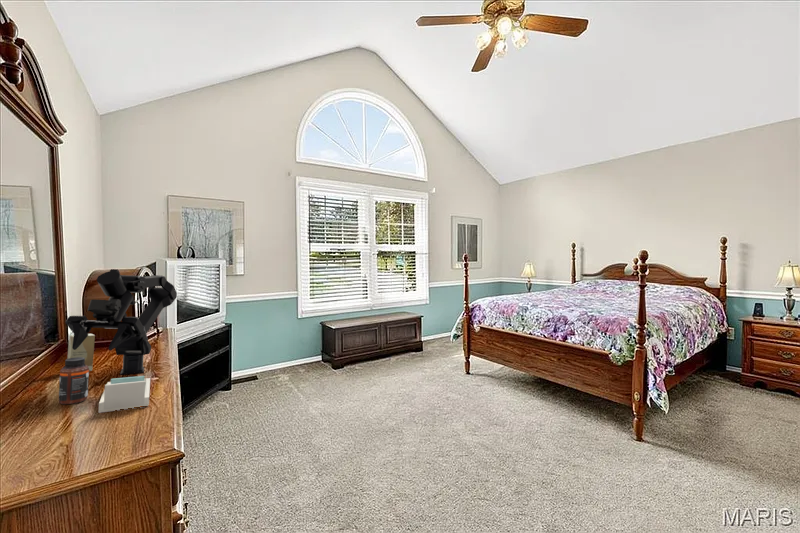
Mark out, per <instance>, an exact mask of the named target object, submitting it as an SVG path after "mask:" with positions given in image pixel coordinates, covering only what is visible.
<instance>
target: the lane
mask: <svg viewBox="0 0 800 533" xmlns="http://www.w3.org/2000/svg"><path fill="white" fill-rule="evenodd" d="M150 388H151V377H146V378H145V377H144V381H136V382H126V383H116V384H111V381H107V383H106V384H104V390H103V393H102V394H101V397H100V400H99V402H98V413H100V414H101V413H107V412H114V411H115V410H117V411H121V410H120V409H124V410H129V409H128V408H132V409H135V408H134V407H140V406H148V405H150V390H151V389H150ZM148 407H149V406H148ZM140 408H141V407H140Z"/></svg>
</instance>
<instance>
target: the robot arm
mask: <svg viewBox="0 0 800 533" xmlns="http://www.w3.org/2000/svg"><path fill="white" fill-rule="evenodd" d="M96 282H97V284H98V286H99V287H100V288H101V290H102V292H103V294H104V296H106V297H109V298H108V299H90V301H89V304H88V306H87V307H88V308H87V311H88V312H91V313H92V317H93V318H94V319H95V320H94V319H93V320H92V319H91V320H89V319H88V318H87V317H86V315H69V316H68V317H67V319H66V320H65V321H64V322H65V325H67V327H68V328H69V329H70V330H71V332H72V333H73V335H74V338H73V346H72V348H73V350H76V349H77V348H78V347H79V346H80V345H81V343H82V342H83V341H84V340H85V339H86V337H87V336H88V334H89V333H90V332H91V330H92V328H93V329H94V328H95V329H97V328H98V329H101V328H102V329H112V330H113V329H114V330H117V331H116V332H115V334H114V336H113V337H112V340H111V341H110V343H109V346H108V350H109V351H112V350H114V349H115V354H116V356H122V369H121V370H120V373H119V375H121V376H122V375H134V374H135V375H136V374H144V373H145V366H144V356H145V355H149V354H150V353H151V351H152V345H151V343H150V342H149V338H148V335H147V334H148V332H149V330H151V327H152V326H153V324H154V323H155V321H156V320H157V319H158V317H159V315H160V314H161V312H162V311H163V309H164V308H167V307H169V306H171V305H172V304H173V302H175V300H176V299H177V295H178V293H177V289H176V288H175V285H174V284H172V283H171V282H170V281H169V280H167V278H166V276H163V275H160V274H159V275H156V274H155V275H149V276H148V275H147V276H142V275H131V274H130V275H126V274H121V273H120V271H119V269H118V268H117V269H115V268H114V269H113V268H112V269H109V271H107V272H104V273H102V274H100V275H98V276H97V278H96ZM147 288H148V290H147V294H148V296H149V300H150V302H149V303H148V304H147V305H146V307H145V308H144V310H142V312H141V313H140V315H139V317H138V316H127V313H126V312H127V310H128V309H129V307H130V306H131V305H133V306H134V305H135V304H136V302H135V299H134V295H133V294H135V293H136V294H139V293H142V292H144V291H145V290H146V289H147ZM132 293H133V294H132Z"/></svg>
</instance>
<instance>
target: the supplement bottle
mask: <svg viewBox="0 0 800 533" xmlns="http://www.w3.org/2000/svg"><path fill="white" fill-rule="evenodd" d="M64 361H65V362H64V366H63V367H62V368H61V369H60V370H59V379H58V380H59V385H58V386H59V387H58V403H59V404H61V405H73V404H75V405H76V404H78V403H81V402H82V403H83V402H85V401H86V400H88V397H89V376H90V375H89V374H90V371H89V367H88V366H87V365H85V358H83V357H76V358H69V359H67V358H66V359H65V360H64Z"/></svg>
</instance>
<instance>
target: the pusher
mask: <svg viewBox="0 0 800 533" xmlns="http://www.w3.org/2000/svg"><path fill="white" fill-rule="evenodd" d="M144 379H145V375H137V376H127V377H117V378H116V377H115V378H110V382H111V384H116V383H126V382H136V381H144Z"/></svg>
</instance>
